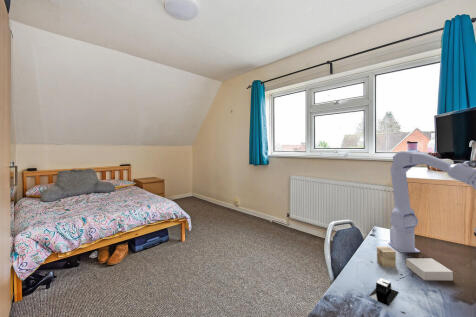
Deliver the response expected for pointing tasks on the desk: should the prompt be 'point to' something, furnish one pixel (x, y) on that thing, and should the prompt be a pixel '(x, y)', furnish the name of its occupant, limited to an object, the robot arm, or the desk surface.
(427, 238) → the desk surface
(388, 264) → the oak block
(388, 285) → the black mounting plate
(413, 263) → the base
